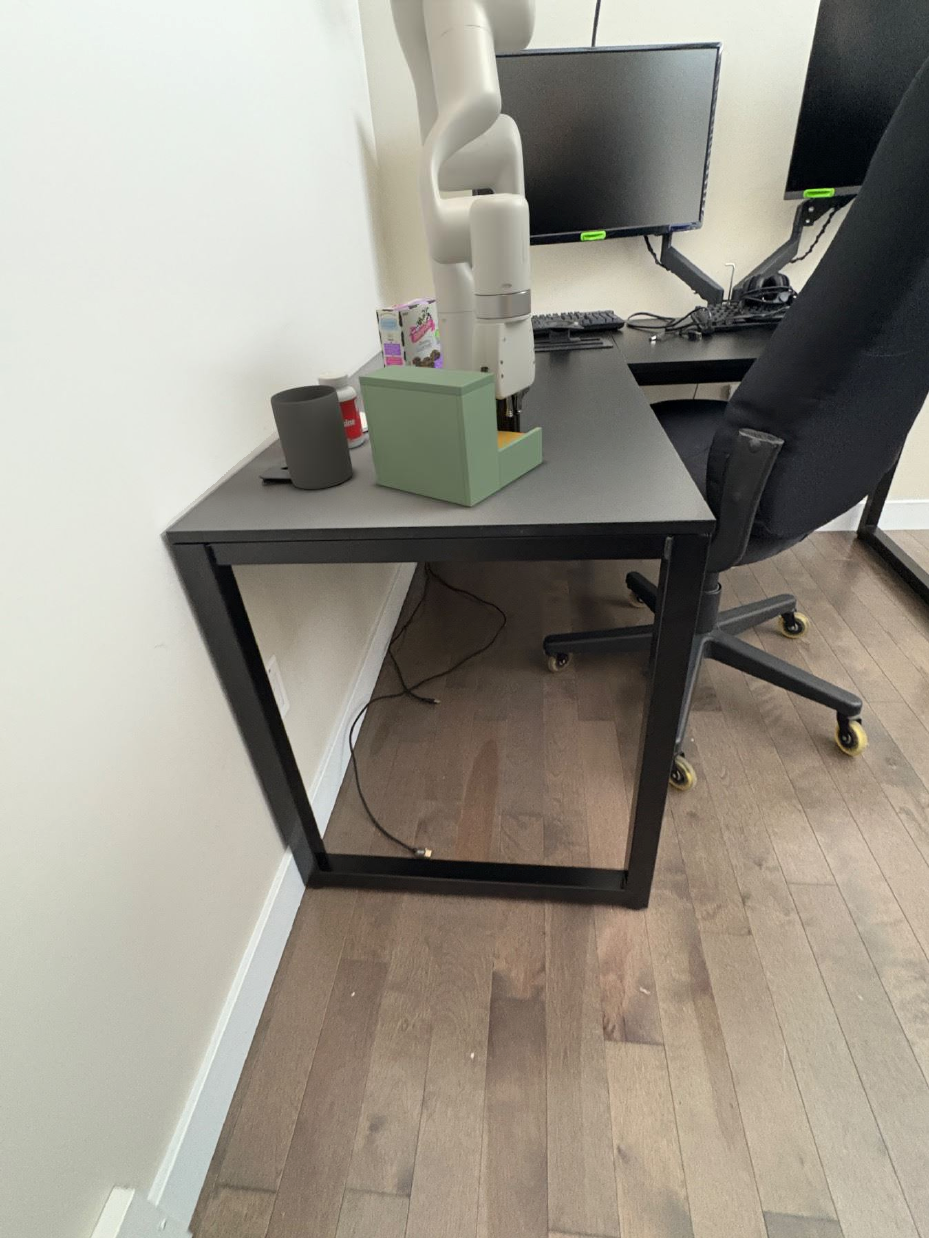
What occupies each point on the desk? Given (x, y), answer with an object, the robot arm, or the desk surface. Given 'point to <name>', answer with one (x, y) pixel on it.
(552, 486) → the desk surface
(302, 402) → the mug
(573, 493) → the desk surface
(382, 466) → the green block
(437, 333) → the candy box
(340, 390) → the pill bottle
